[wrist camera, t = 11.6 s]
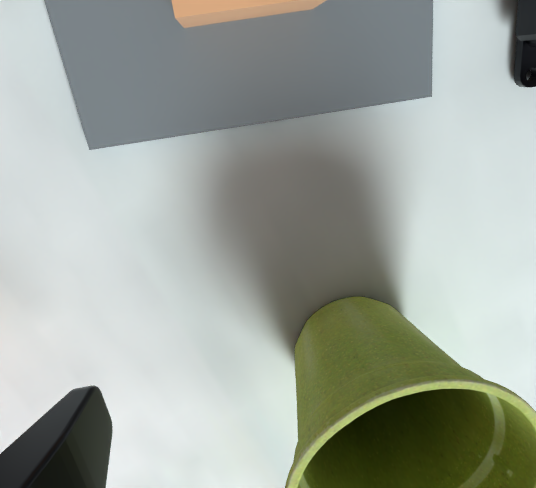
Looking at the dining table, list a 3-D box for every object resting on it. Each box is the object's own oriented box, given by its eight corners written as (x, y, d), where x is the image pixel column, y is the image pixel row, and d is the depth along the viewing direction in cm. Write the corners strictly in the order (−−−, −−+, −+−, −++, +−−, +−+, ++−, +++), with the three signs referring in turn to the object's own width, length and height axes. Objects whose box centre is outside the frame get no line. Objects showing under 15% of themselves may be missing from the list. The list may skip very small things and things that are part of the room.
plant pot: (229, 315, 21) (235, 465, 13) (403, 231, 20) (521, 335, 12) (305, 436, 25) (346, 610, 17) (456, 368, 24) (573, 517, 16)
